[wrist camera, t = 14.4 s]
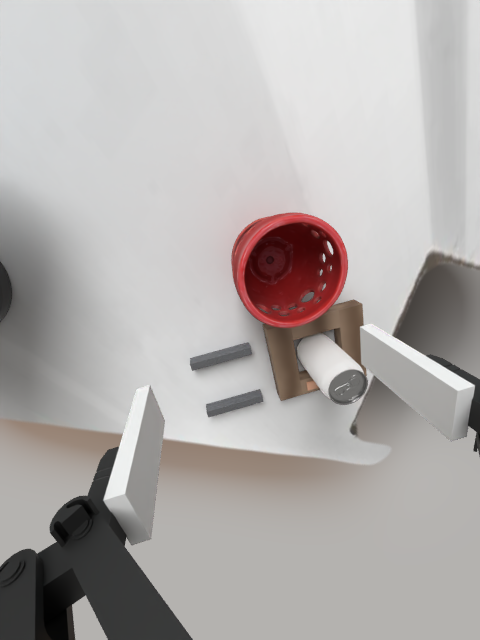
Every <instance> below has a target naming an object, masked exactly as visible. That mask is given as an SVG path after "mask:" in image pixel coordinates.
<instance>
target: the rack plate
mask: <svg viewBox="0 0 480 640" xmlns="http://www.w3.org/2000/svg"><path fill="white" fill-rule="evenodd" d="M361 326H364V325H363V308H362V304H361V303H359V302H357V301H355V300H351V301H347V302H344V303H340V304H336V305H333V306H331V307H330V308H329V309H328V311H326V312H325V313H324V314H323V315H321V316H320V317H319V318H317V319H316V320H314V321H312V322H310V323H307V324H305V325H302V326H298V327H293V328H278V327H273V326H270V325H267V324H263V328H264V333H265V338H266V342H267V347H268V352H269V356H270V361H271V366H272V370H273V375H274V380H275V384H276V389H277V393H278V395H279V397H280V400H281V401H282V400H286V399H289V398H292V397H296V396H299V395H303V394H306V393H310V392H313V391H317V390H320V388H319V387H318V386H317V384H316V383H315V382H314V380H313V379H312V377H311V376H310V375H309V373H308V372H307V370H304V371H301V372H299V370H298V364H297V358H296V353H295V347H294V341H293V340H296V339H300V338H303V337H307V336H311V335H314V334H318V333H321V332H325V331H329V330H332V329H334V335H335V343H336V344H337V345H338V346H339V347H340V348H341V349H342V350H343V351H344V352H346V353H347V354H348V355H349V356H350V357H351V358H352V359H353V360H354V361H355V362H356V363H358V364H359V365H360V367H361V368H362V370H363V372H364V374H365V375H366V368H365V367H364V366H363V365H362V364H361V343H360V327H361Z"/></svg>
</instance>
